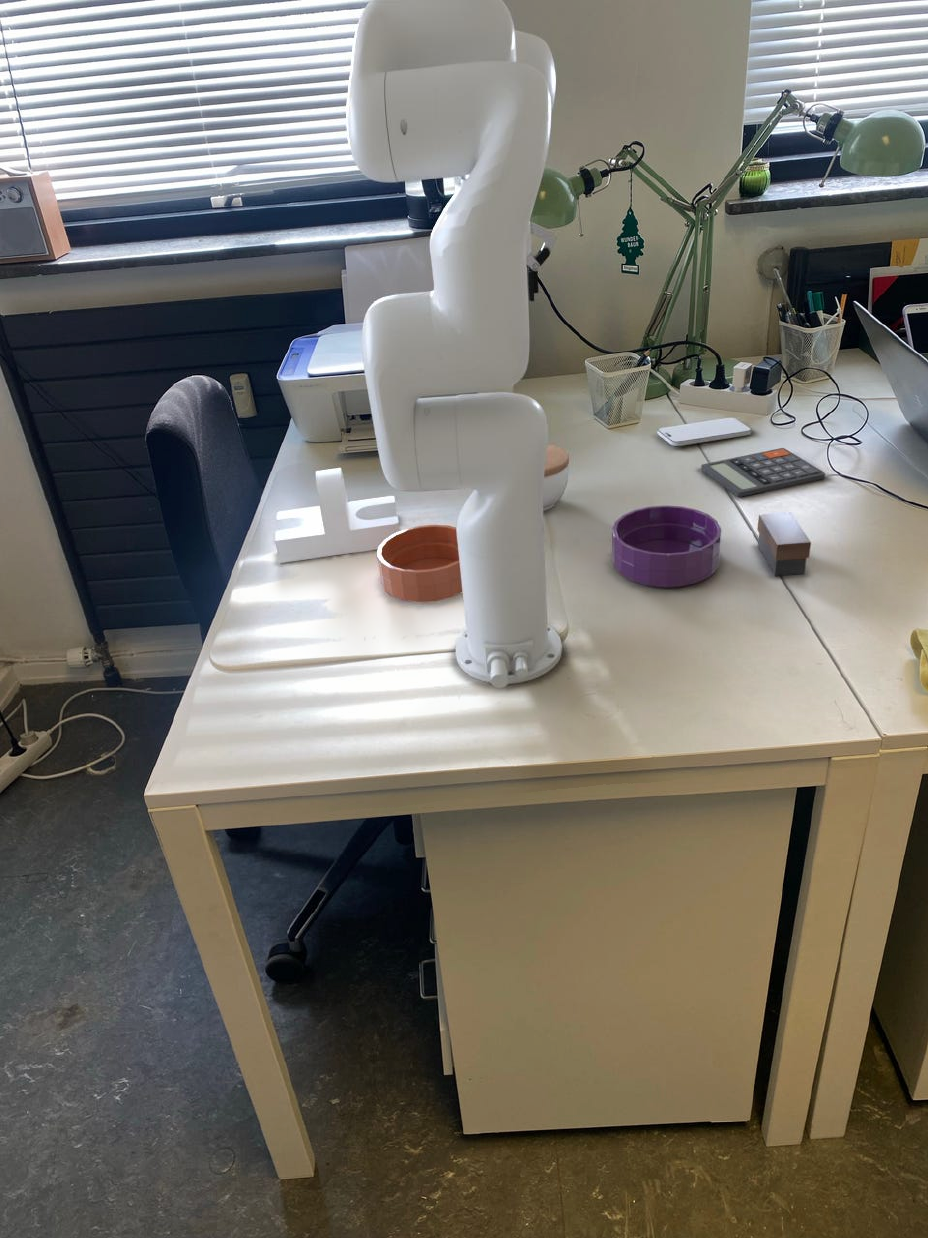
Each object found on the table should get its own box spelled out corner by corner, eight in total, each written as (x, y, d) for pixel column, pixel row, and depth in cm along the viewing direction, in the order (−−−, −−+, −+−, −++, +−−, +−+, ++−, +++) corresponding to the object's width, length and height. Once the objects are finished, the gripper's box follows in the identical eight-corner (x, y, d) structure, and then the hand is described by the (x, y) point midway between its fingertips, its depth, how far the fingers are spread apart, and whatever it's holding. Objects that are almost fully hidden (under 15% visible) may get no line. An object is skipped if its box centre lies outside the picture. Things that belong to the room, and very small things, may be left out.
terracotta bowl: (478, 601, 118) (475, 567, 115) (378, 608, 118) (373, 575, 116) (477, 552, 129) (474, 521, 126) (385, 559, 129) (380, 528, 127)
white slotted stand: (279, 563, 131) (264, 494, 125) (281, 533, 139) (267, 467, 133) (402, 545, 133) (392, 476, 127) (397, 517, 141) (387, 450, 135)
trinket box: (518, 485, 147) (515, 430, 142) (580, 493, 142) (579, 437, 137) (489, 513, 139) (485, 456, 134) (554, 523, 134) (552, 465, 129)
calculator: (826, 472, 138) (738, 491, 136) (825, 478, 139) (738, 497, 136) (783, 446, 148) (700, 463, 145) (782, 451, 148) (700, 468, 146)
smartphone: (753, 430, 155) (673, 442, 153) (753, 436, 156) (673, 449, 153) (732, 416, 161) (655, 428, 159) (732, 422, 162) (655, 434, 159)
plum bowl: (730, 585, 116) (733, 550, 113) (620, 593, 116) (621, 558, 113) (705, 535, 127) (707, 501, 125) (606, 542, 128) (606, 509, 125)
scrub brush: (806, 575, 116) (811, 542, 114) (773, 577, 116) (777, 544, 114) (786, 543, 123) (790, 512, 121) (755, 546, 124) (758, 514, 121)
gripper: (422, 178, 115) (436, 314, 125) (557, 165, 115) (561, 303, 124) (423, 171, 122) (436, 301, 131) (551, 158, 121) (555, 290, 130)
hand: (497, 302), depth 127 cm, fingers open, 9 cm apart
